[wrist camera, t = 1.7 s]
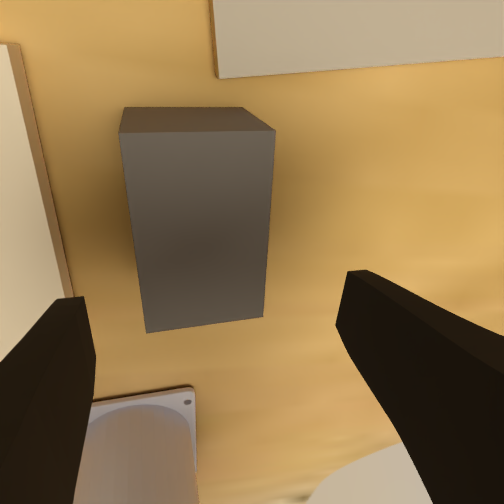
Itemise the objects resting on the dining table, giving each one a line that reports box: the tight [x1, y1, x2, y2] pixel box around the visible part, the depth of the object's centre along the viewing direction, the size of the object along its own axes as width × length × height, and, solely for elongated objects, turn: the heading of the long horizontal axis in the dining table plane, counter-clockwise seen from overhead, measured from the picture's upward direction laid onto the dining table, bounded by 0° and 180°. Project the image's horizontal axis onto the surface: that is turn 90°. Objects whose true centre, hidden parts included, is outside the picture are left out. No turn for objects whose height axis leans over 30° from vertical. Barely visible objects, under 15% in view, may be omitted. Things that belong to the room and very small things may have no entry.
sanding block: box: [119, 107, 276, 333], centre depth 16 cm, size 8×5×5 cm, turn 178°
